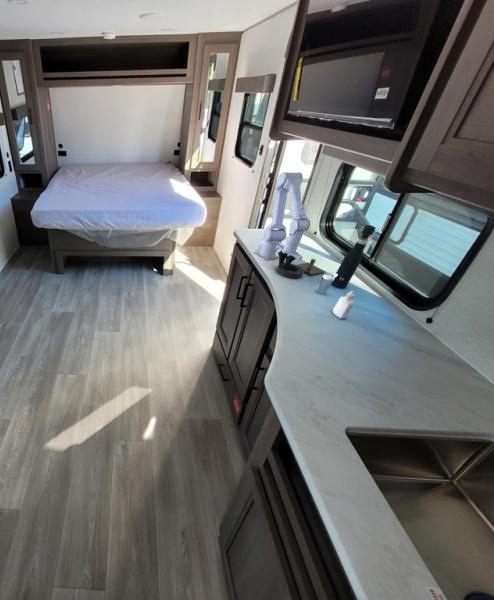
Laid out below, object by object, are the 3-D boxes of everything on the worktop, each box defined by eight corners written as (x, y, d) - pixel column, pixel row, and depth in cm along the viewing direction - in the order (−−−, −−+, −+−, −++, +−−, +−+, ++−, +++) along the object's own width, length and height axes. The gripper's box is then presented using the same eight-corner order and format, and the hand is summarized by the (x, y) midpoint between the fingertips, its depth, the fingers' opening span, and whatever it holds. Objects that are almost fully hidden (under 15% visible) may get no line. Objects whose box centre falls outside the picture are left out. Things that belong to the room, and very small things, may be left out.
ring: (271, 269, 160) (273, 264, 158) (288, 266, 164) (290, 261, 162) (289, 280, 151) (291, 275, 150) (306, 276, 155) (309, 271, 154)
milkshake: (330, 295, 141) (340, 276, 136) (318, 294, 141) (328, 276, 136) (324, 290, 145) (334, 271, 139) (313, 289, 145) (322, 271, 139)
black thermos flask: (341, 282, 152) (373, 224, 135) (348, 289, 147) (382, 230, 129) (328, 281, 152) (358, 223, 135) (334, 288, 147) (367, 228, 130)
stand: (294, 267, 163) (298, 256, 160) (307, 264, 166) (312, 254, 163) (310, 276, 156) (315, 265, 152) (323, 273, 159) (329, 262, 155)
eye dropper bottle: (333, 317, 128) (347, 293, 121) (331, 309, 132) (345, 286, 125) (345, 320, 126) (360, 296, 119) (343, 312, 130) (357, 289, 124)
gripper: (275, 237, 157) (266, 261, 164) (298, 249, 146) (288, 274, 153) (285, 236, 159) (276, 259, 167) (309, 247, 148) (298, 272, 156)
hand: (282, 266), depth 160 cm, fingers closed on ring, 2 cm apart
